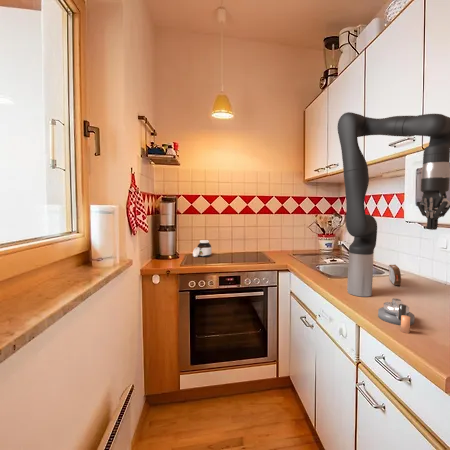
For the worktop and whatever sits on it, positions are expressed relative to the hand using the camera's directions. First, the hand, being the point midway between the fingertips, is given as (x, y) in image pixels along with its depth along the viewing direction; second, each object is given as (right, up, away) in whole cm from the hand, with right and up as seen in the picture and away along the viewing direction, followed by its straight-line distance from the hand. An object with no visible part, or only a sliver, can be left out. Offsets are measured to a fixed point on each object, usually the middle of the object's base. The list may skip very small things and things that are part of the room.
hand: (432, 229), depth 92 cm
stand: (-14, -29, -5) cm, 33 cm away
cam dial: (-14, -27, -5) cm, 31 cm away
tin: (+12, -27, +39) cm, 49 cm away
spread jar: (-86, -22, +107) cm, 139 cm away
